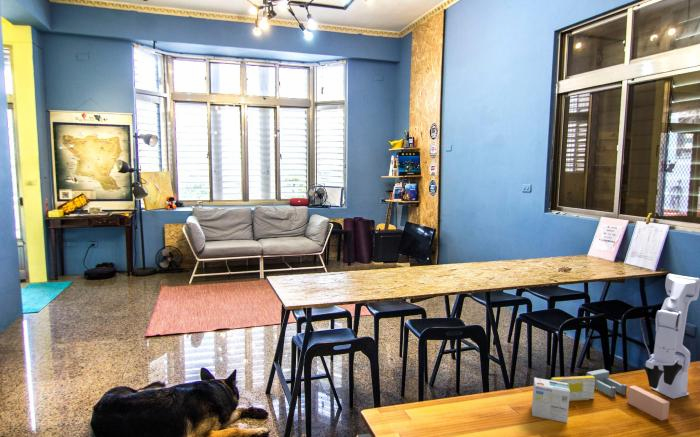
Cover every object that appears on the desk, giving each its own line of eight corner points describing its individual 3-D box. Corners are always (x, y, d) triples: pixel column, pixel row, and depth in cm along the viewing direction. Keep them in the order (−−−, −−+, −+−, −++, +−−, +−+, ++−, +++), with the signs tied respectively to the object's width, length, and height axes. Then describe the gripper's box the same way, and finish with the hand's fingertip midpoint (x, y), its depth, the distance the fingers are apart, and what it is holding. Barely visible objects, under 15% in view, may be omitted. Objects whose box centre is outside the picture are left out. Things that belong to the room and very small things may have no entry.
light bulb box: (565, 413, 149) (568, 382, 148) (567, 423, 143) (571, 391, 142) (530, 406, 153) (533, 376, 151) (531, 416, 146) (534, 385, 145)
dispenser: (602, 381, 173) (603, 368, 173) (627, 394, 164) (629, 381, 163) (585, 384, 170) (586, 372, 169) (610, 398, 160) (612, 384, 160)
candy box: (590, 397, 161) (592, 375, 160) (594, 400, 159) (596, 377, 158) (548, 399, 158) (550, 376, 157) (552, 402, 156) (554, 379, 155)
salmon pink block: (632, 401, 159) (634, 385, 158) (667, 419, 148) (669, 402, 147) (626, 402, 158) (628, 386, 157) (661, 420, 147) (663, 403, 146)
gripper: (666, 339, 154) (662, 376, 156) (638, 344, 148) (634, 383, 150) (689, 347, 148) (683, 386, 149) (660, 352, 142) (655, 393, 144)
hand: (660, 385), depth 149 cm, fingers open, 7 cm apart
